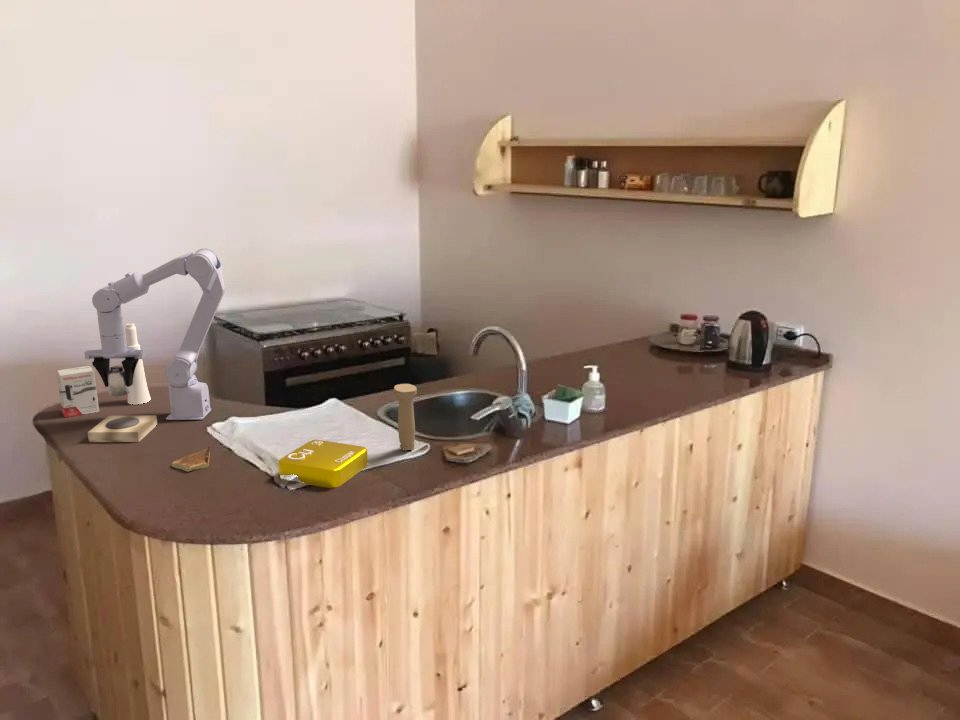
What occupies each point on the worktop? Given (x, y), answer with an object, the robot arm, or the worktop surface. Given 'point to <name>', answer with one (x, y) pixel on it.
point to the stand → (122, 428)
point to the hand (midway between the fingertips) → (118, 385)
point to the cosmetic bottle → (136, 371)
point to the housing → (117, 381)
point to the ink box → (77, 391)
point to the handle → (406, 415)
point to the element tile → (324, 463)
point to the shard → (193, 461)
